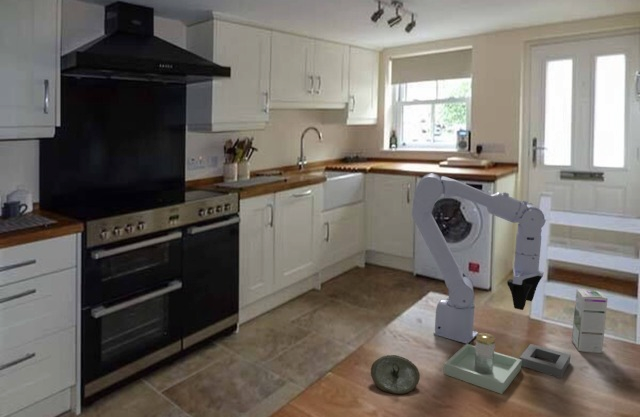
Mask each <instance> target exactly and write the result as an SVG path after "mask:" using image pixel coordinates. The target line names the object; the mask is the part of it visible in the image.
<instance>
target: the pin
mask: <svg viewBox="0 0 640 417" xmlns="http://www.w3.org/2000/svg"><path fill="white" fill-rule="evenodd" d="M475 346H476V350H475V365H474V370H475V371H476V372H478V373H481V374H491V373H492V372H493V362H494V352H495V346H496V336H495V335H493V334H490V333H486V332H480V333H479V332H478V334H477V336H476V337H475Z"/></svg>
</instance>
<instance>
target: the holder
mask: <svg viewBox="0 0 640 417" xmlns="http://www.w3.org/2000/svg"><path fill="white" fill-rule="evenodd" d="M535 357H537V358H535ZM539 358H542V359H543V360H542V359H539ZM519 359H521V360H522V362H521V367H523V368H527V369H530V370H533V371H537V372H540V373H543V374H547V375H550V376H553V377H557V378H559V379H560V378H561V379H562V377H563V375H564V374H565V371H566V370H567V368H568V366H569V365H570V364H571V363H570V362H571V354H569V353H566V352H561V351H558V350H555V349H551V348H547V347H543V346H541V345H536V344H532V343H530V344H529V345H528V347H527V348H526V349H525V350H524V351H523V353H521V355H520V356H519ZM546 360H548V361H549V362H548V361H546ZM550 361H552V362H550ZM553 362H555V363H553Z"/></svg>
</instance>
